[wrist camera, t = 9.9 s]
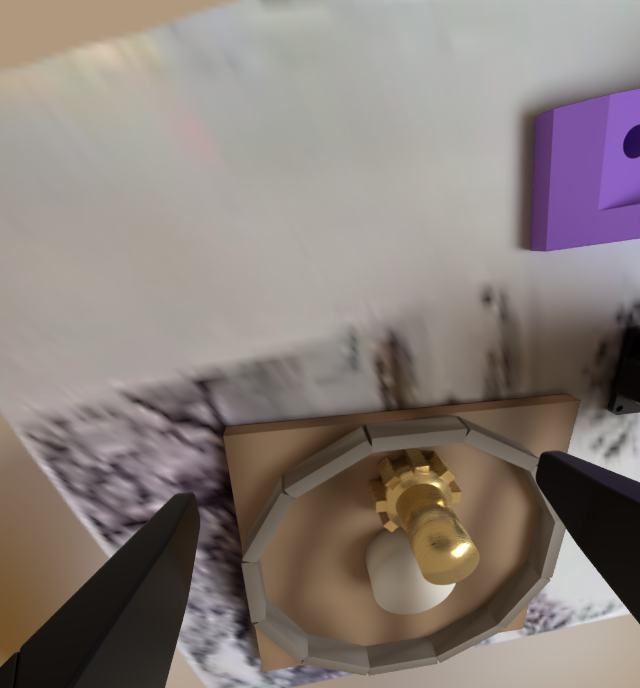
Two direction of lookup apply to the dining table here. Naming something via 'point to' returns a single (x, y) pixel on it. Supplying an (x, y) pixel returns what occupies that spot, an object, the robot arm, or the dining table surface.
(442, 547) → the gear
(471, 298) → the dining table surface
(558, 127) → the bracket
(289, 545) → the carrier
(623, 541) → the robot arm
